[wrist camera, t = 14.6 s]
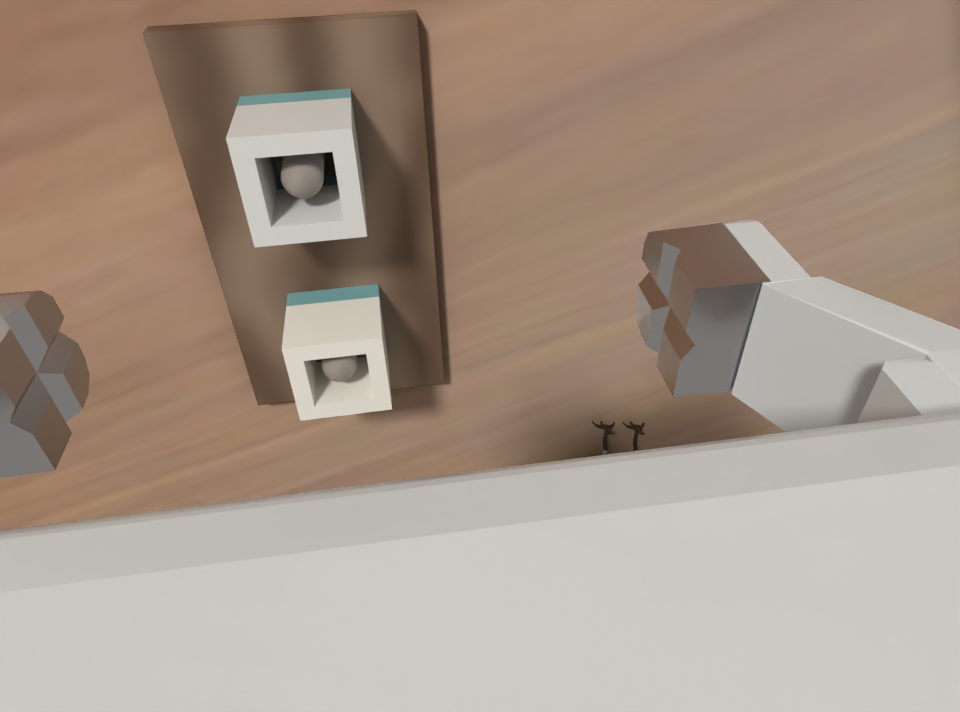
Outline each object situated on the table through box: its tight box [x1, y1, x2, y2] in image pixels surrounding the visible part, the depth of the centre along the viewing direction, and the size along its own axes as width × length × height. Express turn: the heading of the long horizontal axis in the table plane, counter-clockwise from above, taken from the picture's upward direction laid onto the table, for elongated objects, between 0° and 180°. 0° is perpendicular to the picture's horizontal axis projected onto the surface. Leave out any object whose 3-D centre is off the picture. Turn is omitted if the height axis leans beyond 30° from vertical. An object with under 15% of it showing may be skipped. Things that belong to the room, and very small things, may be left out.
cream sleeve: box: [282, 284, 392, 421], centre depth 46 cm, size 6×6×6 cm
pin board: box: [143, 10, 444, 405], centre depth 43 cm, size 14×26×7 cm, turn 1°
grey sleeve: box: [226, 88, 367, 247], centre depth 38 cm, size 6×6×6 cm
